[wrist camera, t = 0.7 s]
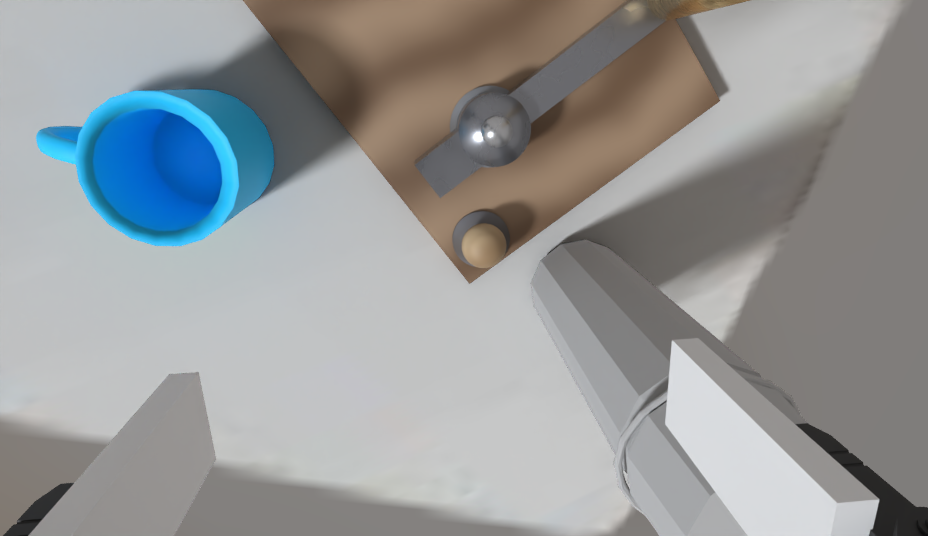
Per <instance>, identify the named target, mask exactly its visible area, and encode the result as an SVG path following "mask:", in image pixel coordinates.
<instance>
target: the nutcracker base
mask: <svg viewBox="0 0 928 536" xmlns="http://www.w3.org/2000/svg"><path fill="white" fill-rule="evenodd" d="M243 1H244V2H245V4H246V5H247V6H248V7H249V9H250V10H251V11H252V12H253V14H254V15H255V16H256V17H257V19H258V20H259V21H260V22H261V24H262V25H263V26H264V27H265V29H266V30H267V31H268V32H269V34H270V35H271V36H272V37H273V39H274V40H275V41H276V42H277V44H278V45H279V46H280V47H281V49H282V50H283V51H284V52H285V54H286V55H287V56H288V57H289V59H290V60H291V61H292V62H293V64H294V65H295V66H296V67H297V69H298V70H299V71H300V72H301V74H302V75H303V76H304V77H305V79H306V80H307V81H308V82H309V84H310V85H311V86H312V87H313V89H314V90H315V91H316V92H317V94H318V95H319V96H320V97H321V99H322V100H323V101H324V102H325V104H326V105H327V106H328V107H329V109H330V110H331V111H332V112H333V114H334V115H335V116H336V117H337V119H338V120H339V121H340V122H341V124H342V125H343V126H344V127H345V129H346V130H347V131H348V132H349V134H350V135H351V136H352V137H353V139H354V140H355V141H356V142H357V144H358V145H359V146H360V147H361V149H362V150H363V151H364V152H365V154H366V155H367V156H368V157H369V159H370V160H371V161H372V162H373V164H374V165H375V166H376V167H377V169H378V170H379V171H380V172H381V174H382V175H383V176H384V177H385V179H386V180H387V181H388V182H389V184H390V185H391V186H392V187H393V189H394V190H395V191H396V192H397V194H398V195H399V196H400V197H401V199H402V200H403V201H404V202H405V204H406V205H407V206H408V207H409V209H410V210H411V211H412V212H413V214H414V215H415V216H416V217H417V219H418V220H419V221H420V222H421V224H422V225H423V226H424V227H425V229H426V230H427V231H428V232H429V234H430V235H431V236H432V237H433V239H434V240H435V241H436V242H437V244H438V245H439V246H440V247H441V249H442V250H443V251H444V252H445V254H446V255H447V256H448V257H449V259H450V260H451V261H452V262H453V264H454V265H455V266H456V267H457V269H458V270H459V271H460V272H461V274H462V275H463V276H464V277H465V279H466V280H467V281H468V282H469V284H470V283H471V282H473V281H474V280H475V279H477V278H478V277H480V276H481V275H482V274H484V273H485V272H486V271H488V270H489V269H491V268H492V267H493V266H495V265H496V264H498V263H499V262H500V261H501V260H503V259H504V258H506V257H507V256H508V255H510V254H511V253H512V252H514V251H515V250H517V249H518V248H519V247H521V246H522V245H523V244H525V243H526V242H528V241H529V240H530V239H532V238H533V237H534V236H536V235H537V234H538V233H540V232H541V231H543V230H544V229H545V228H547V227H548V226H549V225H551V224H552V223H554V222H555V221H556V220H558V219H559V218H560V217H562V216H563V215H564V214H566V213H567V212H569V211H570V210H571V209H573V208H574V207H575V206H577V205H578V204H580V203H581V202H582V201H584V200H585V199H586V198H588V197H589V196H591V195H592V194H593V193H595V192H596V191H597V190H599V189H600V188H601V187H603V186H604V185H606V184H607V183H608V182H610V181H611V180H612V179H614V178H615V177H617V176H618V175H619V174H621V173H622V172H623V171H625V170H626V169H628V168H629V167H630V166H632V165H633V164H634V163H636V162H637V161H638V160H640V159H641V158H643V157H644V156H645V155H647V154H648V153H649V152H651V151H652V150H654V149H655V148H656V147H658V146H659V145H660V144H662V143H663V142H664V141H666V140H667V139H669V138H670V137H671V136H673V135H674V134H675V133H677V132H678V131H680V130H681V129H682V128H684V127H685V126H686V125H688V124H689V123H691V122H692V121H693V120H695V119H696V118H697V117H699V116H700V115H701V114H703V113H704V112H706V111H707V110H708V109H710V108H711V107H712V106H714V105H715V104H717V103H718V102H719V101H720V100H719V98H718V96H717V94H716V92H715V90H714V89H713V87H712V85H711V83H710V81H709V79H708V78H707V76H706V74H705V72H704V70H703V68H702V67H701V65H700V63H699V61H698V59H697V57H696V56H695V54H694V52H693V50H692V48H691V47H690V45H689V43H688V41H687V39H686V37H685V36H684V34H683V32H682V30H681V28H680V26H679V25H678V23H677V21H676V19H673V20H669V21H665V22H663V23H662V24H661V25H660V26H658V27H657V28H656V29H654V30H653V31H652V32H650V33H649V34H648V35H646V36H645V37H644V38H642V39H641V40H640V41H638V42H637V43H636V44H635V45H633V46H632V47H631V48H629V49H628V50H627V51H625V52H624V53H623V54H621V55H620V56H619V57H617V58H616V59H615V60H613V61H612V62H611V63H610V64H608V65H607V66H606V67H604V68H603V69H602V70H600V71H599V72H598V73H596V74H595V75H594V76H592V77H591V78H590V79H588V80H587V81H586V82H585V83H583V84H582V85H581V86H579V87H578V88H577V89H575V90H574V91H573V92H571V93H570V94H569V95H567V96H566V97H565V98H563V99H562V100H561V101H560V102H558V103H557V104H556V105H554V106H553V107H552V108H550V109H549V110H548V111H546V112H545V113H544V114H542V115H541V116H540V117H538V118H537V119H536V120H535V121H533V122H532V123H531V135H530V139H529V142H528V145H527V147H526V149H525V150H524V152H523V153H522V154H521V155H520V156H519V157H518V158H517V159H516V160H515V161H513V162H511V163H509V164H507V165H504V166H500V167H488V166H484V165H483V166H482V167H481V168H479V169H478V170H477V171H475V172H474V173H473V174H472V175H470V176H469V177H468V178H466V179H465V180H464V181H462V182H461V183H460V184H458V185H457V186H456V187H454V188H453V189H452V190H450V191H449V192H448V193H446V194H445V195H444V196H443V197H441V198H440V197H439V196H438V195H437V194H436V192H435V191H434V190H433V188H432V187H431V186H430V185H429V183H428V182H427V181H426V179H425V178H424V177H423V175H422V174H421V173H420V172H419V170H418V169H417V168H416V166H415V163H414V161H415V160H416V159H417V158H418V157H420V156H421V155H422V154H424V153H425V152H426V151H427V150H429V149H430V148H431V147H433V146H434V145H435V144H437V143H438V142H439V141H440V140H442V139H443V138H444V137H446V136H447V135H448V134H449V133H451V132H452V131H453V130H455V129H456V125H457V119H458V116H459V113H460V111H461V109H462V108H463V106H464V105H465V104H466V103H467V102H468V101H469V100H470V99H471V98H473V97H474V96H477V95H479V94H482V93H486V92H494V93H503V94H506V93H508V92H509V91H510V90H511V89H513V88H514V87H515V86H517V85H518V84H519V83H521V82H522V81H523V80H524V79H526V78H527V77H528V76H530V75H531V74H532V73H533V72H535V71H536V70H537V69H539V68H540V67H541V66H543V65H544V64H545V63H546V62H548V61H549V60H550V59H552V58H553V57H554V56H555V55H557V54H558V53H559V52H561V51H562V50H563V49H565V48H566V47H567V46H568V45H570V44H571V43H572V42H574V41H575V40H576V39H577V38H579V37H580V36H581V35H583V34H584V33H585V32H587V31H588V30H589V29H590V28H592V27H593V26H594V25H596V24H597V23H598V22H599V21H601V20H602V19H603V18H605V17H606V16H607V15H609V14H610V13H611V12H612V11H614V10H615V9H616V8H618V7H619V6H620V5H621V4H623V3H624V2H625V1H627V0H243Z"/></svg>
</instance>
